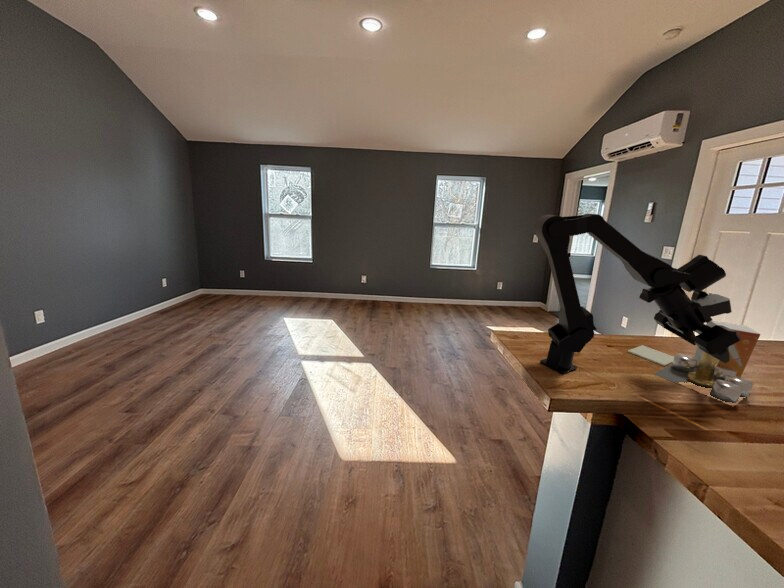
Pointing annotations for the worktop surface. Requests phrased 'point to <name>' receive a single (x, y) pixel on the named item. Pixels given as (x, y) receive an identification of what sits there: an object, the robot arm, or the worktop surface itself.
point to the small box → (735, 347)
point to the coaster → (652, 355)
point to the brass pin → (704, 371)
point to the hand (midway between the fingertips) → (710, 352)
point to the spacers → (717, 379)
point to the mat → (673, 375)
